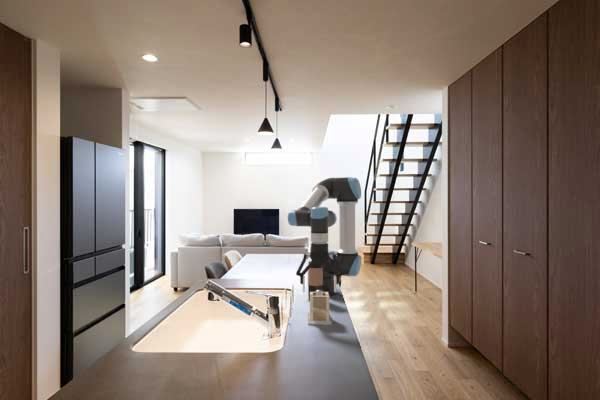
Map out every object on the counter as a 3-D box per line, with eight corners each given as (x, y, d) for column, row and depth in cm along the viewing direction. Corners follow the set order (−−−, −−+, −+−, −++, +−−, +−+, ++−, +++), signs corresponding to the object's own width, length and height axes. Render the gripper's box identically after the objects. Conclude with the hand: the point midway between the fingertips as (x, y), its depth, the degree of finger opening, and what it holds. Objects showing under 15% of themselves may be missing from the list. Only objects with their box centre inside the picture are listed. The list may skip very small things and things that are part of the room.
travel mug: (323, 299, 193) (323, 261, 193) (322, 303, 185) (322, 263, 185) (308, 298, 194) (308, 260, 194) (307, 302, 186) (307, 263, 186)
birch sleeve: (309, 314, 162) (309, 291, 162) (327, 314, 162) (328, 291, 162) (310, 320, 154) (310, 296, 154) (329, 320, 154) (329, 296, 154)
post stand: (307, 316, 163) (307, 287, 163) (329, 317, 163) (330, 287, 163) (307, 324, 153) (307, 293, 153) (331, 324, 153) (331, 293, 153)
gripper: (290, 243, 155) (290, 293, 155) (349, 243, 154) (349, 293, 155) (291, 241, 162) (291, 289, 162) (347, 241, 162) (347, 289, 162)
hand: (319, 291), depth 159 cm, fingers open, 13 cm apart
